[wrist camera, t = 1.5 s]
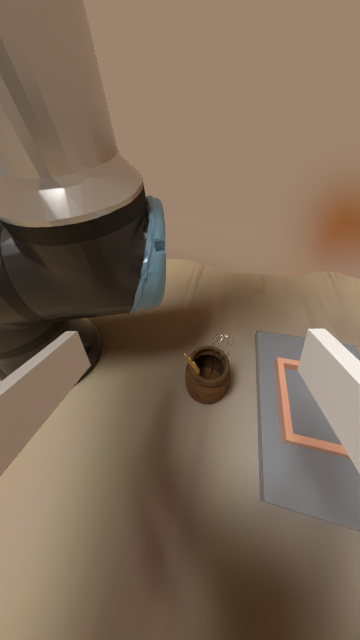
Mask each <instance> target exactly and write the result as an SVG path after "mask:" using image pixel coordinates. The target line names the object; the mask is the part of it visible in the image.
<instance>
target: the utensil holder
mask: <svg viewBox="0 0 360 640" xmlns="http://www.w3.org/2000/svg"><path fill="white" fill-rule="evenodd" d="M224 333H225V332H224ZM224 333H222V334H224ZM218 334H220V333H218ZM218 334H217V335H218ZM225 334H226V333H225ZM225 334H224V335H221V336H224V337H225V336H227V335H230V334H227V335H225ZM217 335H216V336H217ZM218 337H219V336H218ZM224 337H223V338H224ZM216 338H217V337H215V339H216ZM221 338H222V337H221ZM223 338H222V339H223ZM229 338H230V336H229ZM231 338H232V337H231ZM215 339H214V341H215ZM222 339H221V340H222ZM232 339H233V338H232ZM221 340H220V341H221ZM229 340H230V339H229ZM229 340H228V341H229ZM214 341H213V342H214ZM230 342H231V341H230ZM233 342H234V341H233ZM227 343H228V342H227ZM212 344H213V345H214V343H212ZM218 344H220V343H218ZM232 345H233V344H231V348H232ZM217 346H218V345H217ZM225 346H227V345H226V344H225ZM218 348H219V346H218ZM218 348H217V347H216V348H215V347H212V346H203V347H200V348H198V349H196V350H195V351H194V352H193V353H192V354H191V356H190V357H188V356H187V354H186V353H184V355H185V357H186V359H187V361H188V364H187V367H186V387H187V390H188V392H189V394H190V395H191V397H192V398H193V399H194V400H196V401H198V402H200V403H203V404H211V403H214V402H216V401H218V400H219V399H220V398H221V397H222V396H223V395H224V393H225V391H226V388H227V386H228V383H229V378H230V372H229V371H230V365H229V360H228V358H227V357H228V356H226V355H225V354H224V353H223V352H224V350H225V349H224V350H223V352H222V351H221V350H219V349H218ZM225 348H226V347H225ZM230 350H231V349H230ZM228 353H230V351H229V352H228ZM228 355H229V354H228Z"/></svg>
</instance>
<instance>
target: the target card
mask: <svg viewBox="0 0 360 640" xmlns="http://www.w3.org/2000/svg"><path fill="white" fill-rule="evenodd" d="M305 339H306V338H302V337H295V336H289V335H282V334H275V333H269V332H262V331H257V333H256V335H255V344H256V377H257V410H258V443H259V476H260V501H264V502H267V503H270V504H273V505H277V506H280V507H283V508H286V509H289V510H293V511H296V512H299V513H302V514H306V515H309V516H312V517H315V518H319V519H322V520H325V521H328V522H332V523H335V524H338V525H341V526H345V527H348V528H351V529H354V530H357V531H360V474H359V472H358V470H357V469H356V467H355V465H354V464H353V462H352V460H351V459H350V457H349V455H348V454H347V452H346V450H345V449H344V447H343V445H342V444H341V442H340V440H339V439H338V437H337V435H336V434H335V432H334V430H333V429H332V427H331V425H330V424H329V422H328V420H327V419H326V417H325V415H324V414H323V412H322V410H321V409H320V407H319V405H318V404H317V402H316V400H315V399H314V397H313V395H312V394H311V392H310V390H309V389H308V387H307V385H306V384H305V382H304V380H303V379H302V377H301V375H300V374H299V372H298V370H297V369H298V366H299V362H300V358H301V354H302V350H303V346H304V343H305ZM341 344H342V343H341ZM342 345H343V346H344V347H345V348H346V349H347V350H348V351H350V352H351V353H352V354H353V355H354V356H355V357H356V358H357V359H358V360H359V361H360V354H359V352H358V350H357V347H356V346H355V345H348V344H342Z"/></svg>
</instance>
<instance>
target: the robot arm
mask: <svg viewBox="0 0 360 640" xmlns="http://www.w3.org/2000/svg"><path fill="white" fill-rule="evenodd" d="M164 247H165V222H164V212H163V207H162V203H161V201H160V200H159V199H158V198H153V197H152V196H147V197H145V191H144V185H143V178H142V175H141V174H140V173H139V171H138V170H136V169H135V168H134V167H133V166H132V165H131V164H130V163H129V162H128V161H127V160H126V159H125V158H124V157H123V156H121V155H120V153H119V151H118V149H117V145H116V141H115V137H114V132H113V128H112V124H111V120H110V115H109V111H108V106H107V102H106V98H105V94H104V89H103V85H102V80H101V76H100V72H99V67H98V63H97V58H96V55H95V50H94V45H93V41H92V37H91V33H90V28H89V24H88V20H87V15H86V11H85V6H84V2H83V0H0V380H1V382H0V476H1V475H2V474H3V472H4V471H5V470H6V469H7V467H8V466H9V465H10V464H11V463H12V461H13V460H14V459H15V458H16V456H17V455H18V454H19V453H20V452H21V450H22V449H23V448H24V447H25V445H26V444H27V443H28V442H29V440H30V439H31V438H32V437H33V436H34V434H35V433H36V432H37V431H38V429H39V428H40V427H41V426H42V425H43V423H44V422H45V421H46V420H47V418H48V417H49V416H50V415H51V414H52V412H53V411H54V410H55V409H56V407H57V406H58V405H59V404H60V402H61V401H62V400H63V399H64V398H65V396H66V395H67V394H68V393H69V391H70V390H71V389H72V388H73V387H74V385H75V384H76V383H77V382H78V381H80V380H81V379H82V378H83V377H84V376H85V375H86V374H87V373H88V372H89V371H90V370H91V368H92V367H93V366H94V364H95V362H96V361H97V359H98V357H99V354H100V351H101V345H102V341H101V336H100V333H99V332H98V330H97V328H96V327H95V325H94V324H93V323H92V322H91V321H90V320H89V319H88V318H89V317H98V316H107V315H116V314H125V313H129V314H131V313H134V312H135V311H139V310H145V309H150V308H154V307H156V306H158V305H159V304H160V303H161V301H162V300H163V297H164V293H165V283H166V252H165V248H164ZM297 370H298V372H299V374H300V375H301V377H302V379H303V380H304V382H305V384H306V385H307V387H308V389H309V390H310V392H311V394H312V395H313V397H314V399H315V400H316V402H317V404H318V405H319V407H320V409H321V410H322V412H323V414H324V415H325V417H326V419H327V420H328V422H329V424H330V425H331V427H332V429H333V430H334V432H335V434H336V435H337V437H338V439H339V440H340V442H341V444H342V445H343V447H344V449H345V450H346V452H347V454H348V455H349V457H350V459H351V460H352V462H353V464H354V465H355V467H356V469H357V470H358V472H359V474H360V361H359V360H358V359H357V358H356V357H355V356H354V355H353V354H352V353H351V352H350V351H348V350H347V349H346V348H345V347H344V346H343V345H342V344H341V343H340V342H339V341H338V340H337V339H335V338H334V337H333V336H332V335H331V334H330V333H329V332H328V331H327V330H326V329H308V331H307V335H306V339H305V343H304V346H303V350H302V354H301V358H300V362H299V366H298V369H297Z"/></svg>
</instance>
